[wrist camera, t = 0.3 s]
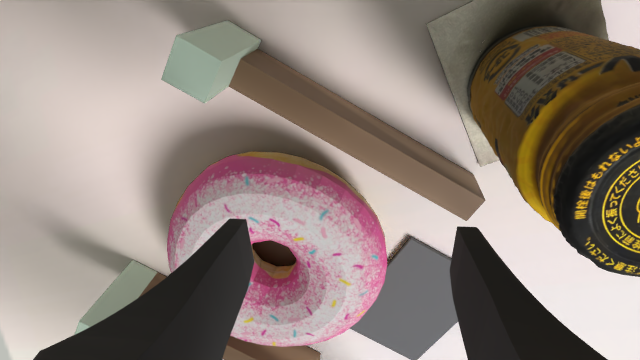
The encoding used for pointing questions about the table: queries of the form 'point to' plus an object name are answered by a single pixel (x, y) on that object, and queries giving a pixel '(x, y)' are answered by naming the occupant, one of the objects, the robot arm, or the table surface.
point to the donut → (288, 244)
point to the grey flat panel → (412, 302)
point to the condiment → (553, 114)
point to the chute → (310, 114)
